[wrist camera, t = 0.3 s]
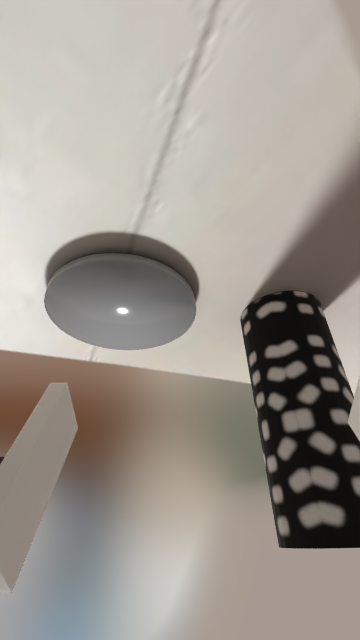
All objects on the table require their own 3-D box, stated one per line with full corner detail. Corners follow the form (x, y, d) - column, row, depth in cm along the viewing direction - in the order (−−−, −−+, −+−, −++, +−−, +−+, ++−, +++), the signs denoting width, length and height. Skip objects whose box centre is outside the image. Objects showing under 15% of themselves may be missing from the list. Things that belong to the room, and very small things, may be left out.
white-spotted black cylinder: (337, 296, 31) (438, 543, 20) (293, 338, 38) (350, 542, 26) (260, 285, 29) (322, 549, 18) (229, 332, 36) (259, 546, 25)
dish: (19, 253, 25) (14, 267, 24) (193, 242, 25) (194, 255, 24) (76, 341, 37) (74, 353, 36) (196, 335, 36) (196, 346, 35)
